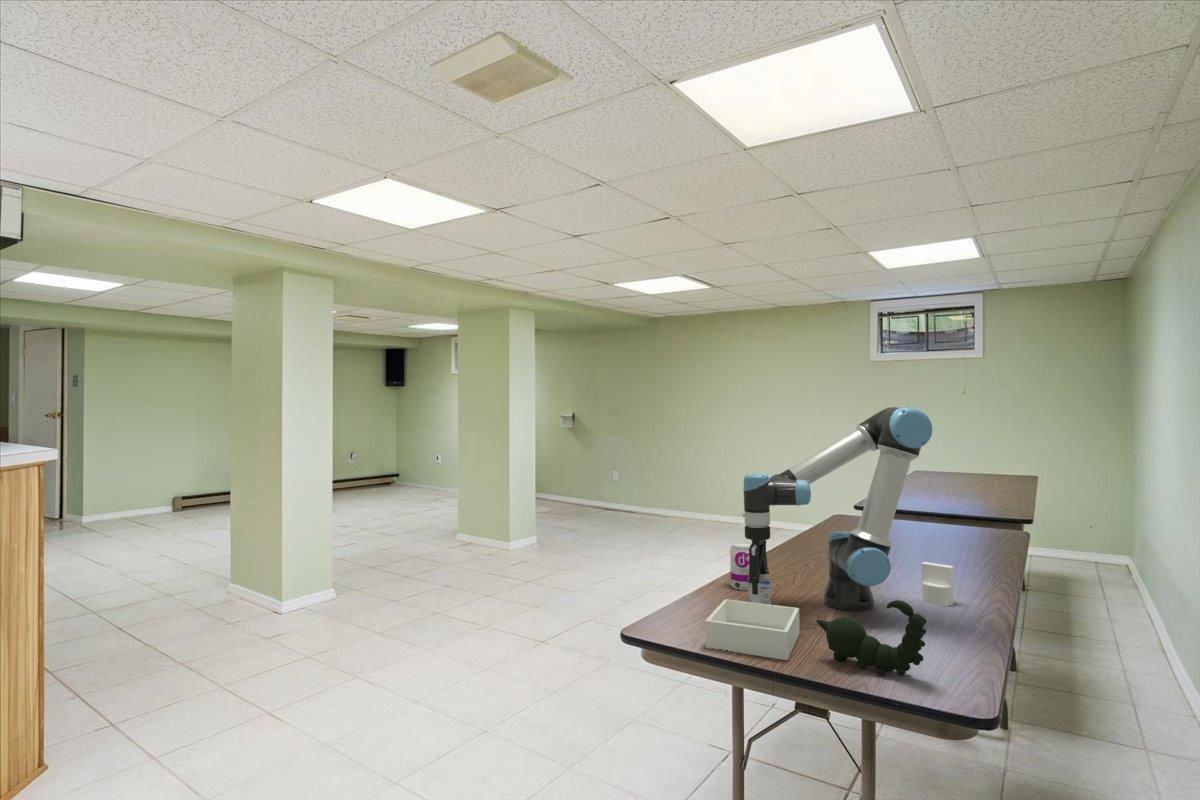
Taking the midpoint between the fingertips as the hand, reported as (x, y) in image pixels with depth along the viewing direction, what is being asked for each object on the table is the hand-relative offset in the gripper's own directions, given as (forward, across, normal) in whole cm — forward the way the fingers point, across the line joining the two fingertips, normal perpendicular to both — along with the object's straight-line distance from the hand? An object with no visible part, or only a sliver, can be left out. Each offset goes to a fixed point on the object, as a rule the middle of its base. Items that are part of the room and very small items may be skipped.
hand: (759, 600), depth 195 cm
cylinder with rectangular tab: (+6, -38, +50) cm, 63 cm away
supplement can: (+5, -29, -12) cm, 31 cm away
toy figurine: (+6, +28, +32) cm, 43 cm away
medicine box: (+2, 0, 0) cm, 2 cm away
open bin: (+5, +21, +2) cm, 21 cm away
